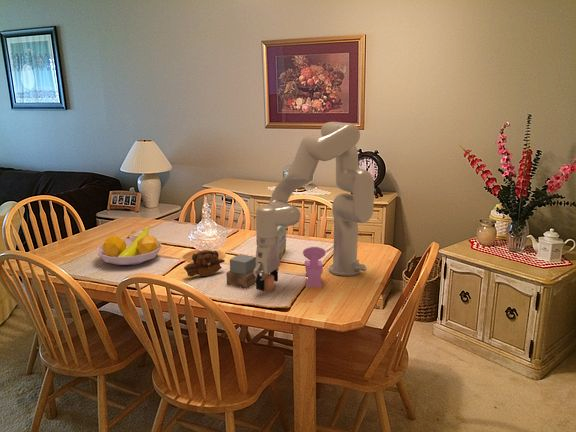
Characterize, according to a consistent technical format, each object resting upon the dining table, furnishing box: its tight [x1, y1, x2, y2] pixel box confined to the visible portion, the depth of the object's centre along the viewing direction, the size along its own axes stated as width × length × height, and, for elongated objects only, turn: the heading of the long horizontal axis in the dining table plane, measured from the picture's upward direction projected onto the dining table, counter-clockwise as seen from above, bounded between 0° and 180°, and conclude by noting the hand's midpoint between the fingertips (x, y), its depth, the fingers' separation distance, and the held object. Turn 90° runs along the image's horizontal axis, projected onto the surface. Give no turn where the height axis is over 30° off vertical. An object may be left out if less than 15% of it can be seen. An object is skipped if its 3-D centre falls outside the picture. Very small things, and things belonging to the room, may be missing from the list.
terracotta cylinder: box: [260, 273, 275, 293], centre depth 174 cm, size 5×5×5 cm
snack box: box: [278, 226, 287, 260], centre depth 206 cm, size 21×6×15 cm, turn 168°
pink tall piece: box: [302, 246, 326, 288], centre depth 180 cm, size 8×9×15 cm
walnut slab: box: [225, 270, 261, 290], centre depth 180 cm, size 9×9×5 cm
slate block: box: [229, 253, 256, 276], centre depth 179 cm, size 7×7×5 cm
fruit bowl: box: [96, 225, 162, 266], centre depth 204 cm, size 28×27×11 cm
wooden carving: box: [183, 249, 225, 278], centre depth 186 cm, size 16×5×10 cm, turn 126°
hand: (267, 285), depth 175 cm, fingers open, 9 cm apart
